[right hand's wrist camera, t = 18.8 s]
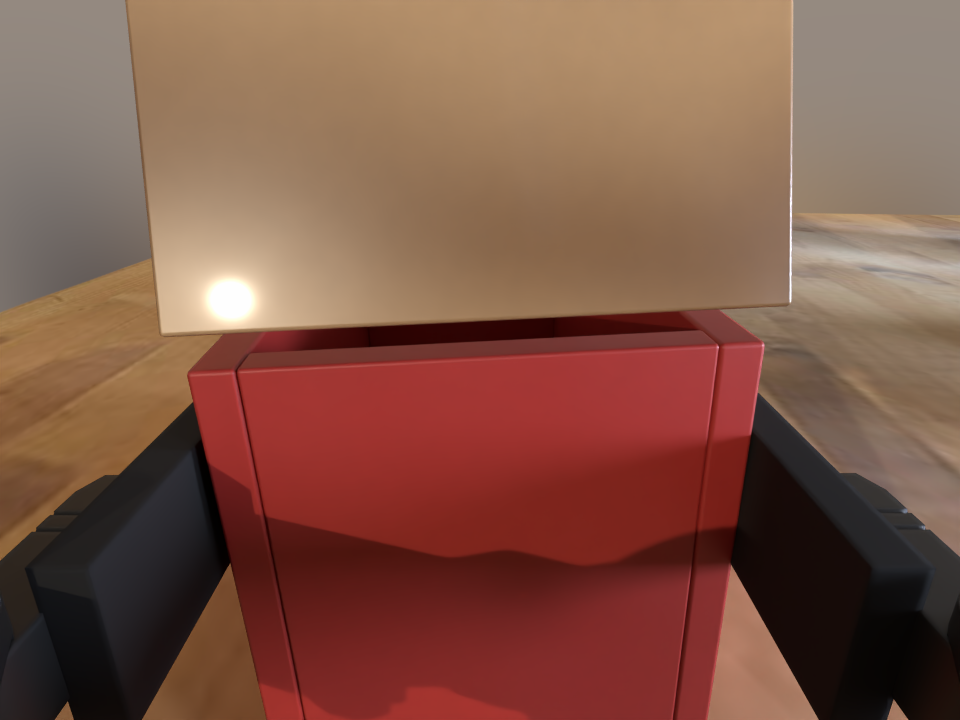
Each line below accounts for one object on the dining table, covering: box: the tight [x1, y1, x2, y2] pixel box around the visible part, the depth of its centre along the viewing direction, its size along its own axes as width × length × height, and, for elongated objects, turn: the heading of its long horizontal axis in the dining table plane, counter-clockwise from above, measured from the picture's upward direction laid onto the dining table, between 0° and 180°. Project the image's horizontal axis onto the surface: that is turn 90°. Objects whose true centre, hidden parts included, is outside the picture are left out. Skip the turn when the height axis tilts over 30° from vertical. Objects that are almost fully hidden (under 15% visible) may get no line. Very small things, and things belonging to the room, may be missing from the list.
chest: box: [187, 309, 765, 720], centre depth 18 cm, size 16×9×9 cm, turn 3°
